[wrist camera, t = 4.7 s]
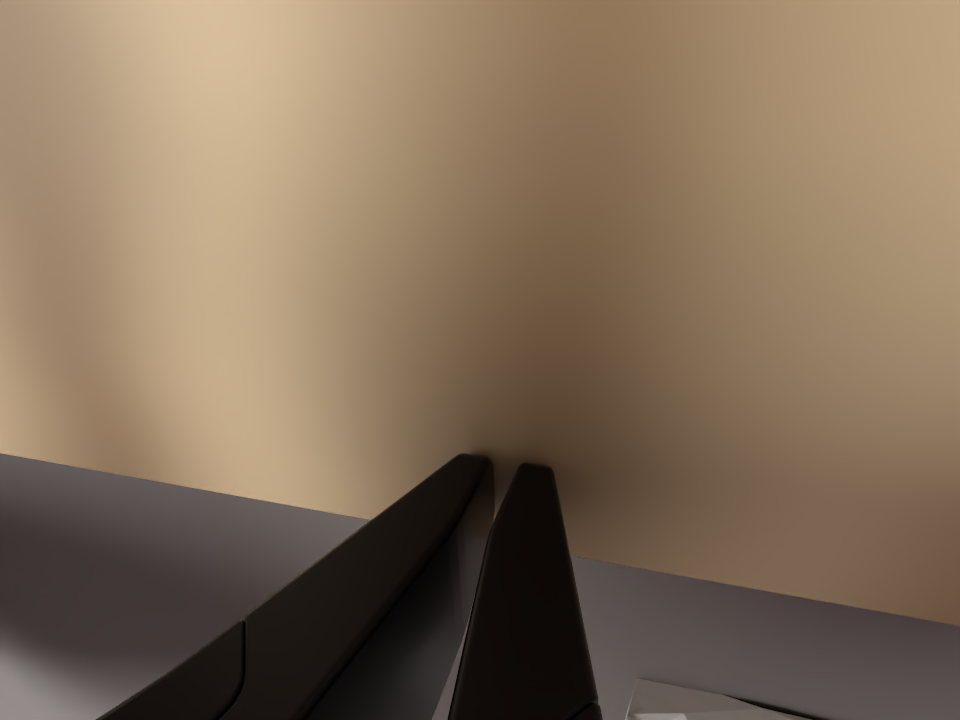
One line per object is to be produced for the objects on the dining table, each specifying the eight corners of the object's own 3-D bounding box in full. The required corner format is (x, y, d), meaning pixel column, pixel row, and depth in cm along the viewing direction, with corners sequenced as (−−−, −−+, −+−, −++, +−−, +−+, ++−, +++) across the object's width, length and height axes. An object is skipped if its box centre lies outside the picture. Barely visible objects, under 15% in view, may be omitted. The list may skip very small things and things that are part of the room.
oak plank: (3, 387, 13) (-66, 441, 12) (-255, -56, 9) (-400, -40, 8) (1365, 592, 8) (1469, 717, 7) (2230, -188, 4) (2841, -196, 3)
